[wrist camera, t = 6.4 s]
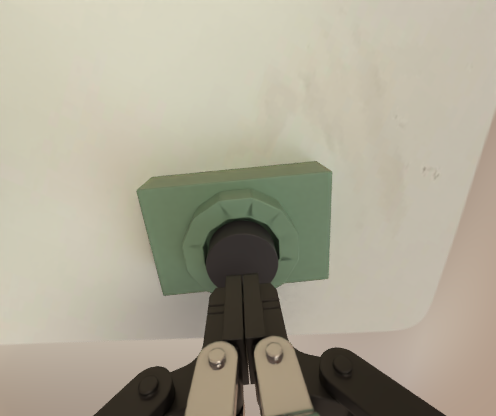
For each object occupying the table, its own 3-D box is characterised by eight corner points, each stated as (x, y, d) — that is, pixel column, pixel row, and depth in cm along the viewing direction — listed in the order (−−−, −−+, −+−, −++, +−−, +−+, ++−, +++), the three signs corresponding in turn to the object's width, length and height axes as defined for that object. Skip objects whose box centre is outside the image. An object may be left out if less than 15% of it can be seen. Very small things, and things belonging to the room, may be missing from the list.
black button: (272, 216, 15) (276, 230, 13) (275, 273, 16) (280, 291, 15) (204, 223, 15) (200, 237, 13) (213, 280, 16) (211, 299, 15)
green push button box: (316, 160, 19) (344, 178, 14) (315, 255, 22) (338, 296, 17) (151, 176, 18) (123, 200, 14) (173, 270, 21) (155, 315, 17)
